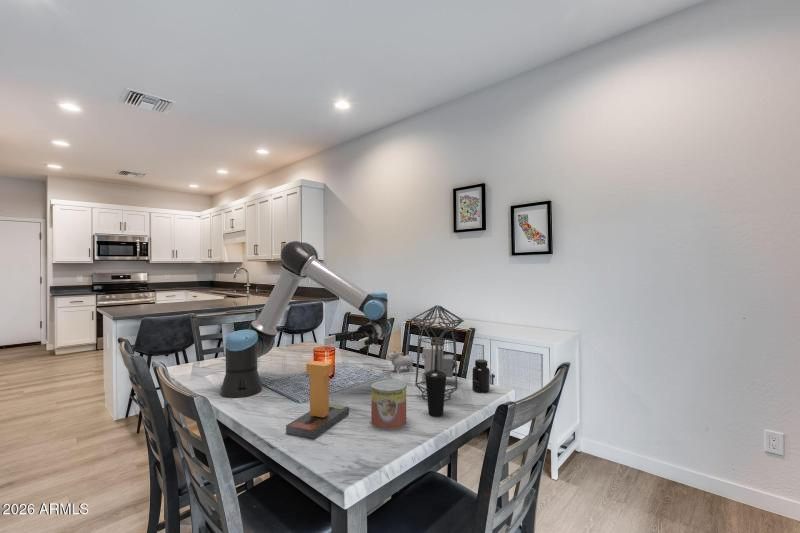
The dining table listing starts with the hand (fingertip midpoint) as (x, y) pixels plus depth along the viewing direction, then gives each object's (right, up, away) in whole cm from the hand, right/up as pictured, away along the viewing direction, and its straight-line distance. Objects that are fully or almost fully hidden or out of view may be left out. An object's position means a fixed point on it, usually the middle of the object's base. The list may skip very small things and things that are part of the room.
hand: (341, 343), depth 133 cm
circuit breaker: (+37, -23, +30) cm, 53 cm away
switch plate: (-5, -23, -12) cm, 26 cm away
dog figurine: (+21, -23, +47) cm, 57 cm away
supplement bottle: (+53, -23, +20) cm, 61 cm away
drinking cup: (+32, -23, -5) cm, 40 cm away
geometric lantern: (+35, -23, +12) cm, 43 cm away
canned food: (+17, -23, -11) cm, 31 cm away
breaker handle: (-5, -20, -12) cm, 24 cm away
